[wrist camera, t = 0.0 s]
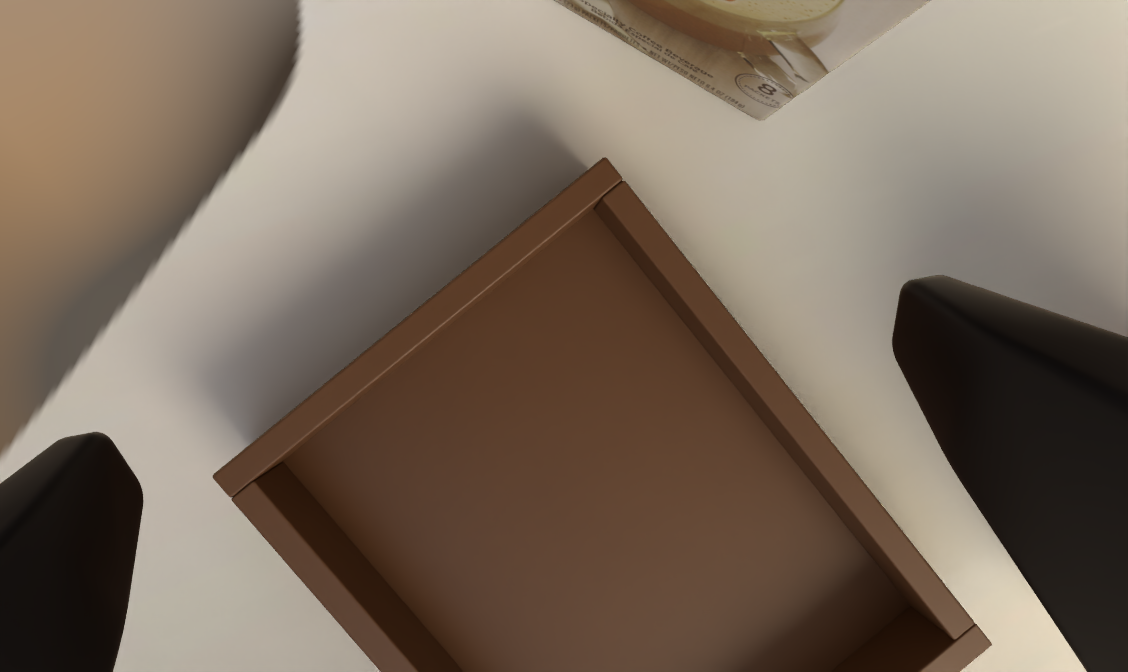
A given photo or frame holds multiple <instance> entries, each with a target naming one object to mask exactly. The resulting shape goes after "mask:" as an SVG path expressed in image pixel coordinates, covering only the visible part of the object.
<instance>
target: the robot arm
mask: <svg viewBox="0 0 1128 672" xmlns="http://www.w3.org/2000/svg"><path fill="white" fill-rule="evenodd" d="M892 346H893V352H894V355H895V358H896V361H897V363H898V365H899V367H900V369H901V371H902V373H903V375H904V377H905V378H906V380H907V382H908V384H909V386H910V388H911V390H912V392H913V394H914V396H915V398H916V400H917V402H918V404H919V406H920V408H921V410H922V412H923V414H924V416H925V418H926V420H927V422H928V424H929V425H930V427H931V429H932V431H933V433H934V435H935V437H936V439H937V441H938V443H939V445H940V447H941V449H942V451H943V453H944V454H945V456H946V458H947V460H948V462H949V463H950V465H951V467H952V468H953V470H954V472H955V473H956V475H957V476H958V478H959V480H960V481H961V483H962V484H963V486H964V487H965V489H966V490H967V492H968V493H969V495H970V496H971V498H972V499H973V501H974V502H975V504H976V505H977V507H978V508H979V510H980V511H981V513H982V514H983V516H984V517H985V519H986V520H987V522H988V523H989V525H990V526H991V528H992V529H993V531H994V532H995V534H996V535H997V537H998V538H999V540H1000V541H1001V543H1002V544H1003V546H1004V547H1005V549H1006V550H1007V552H1008V554H1009V555H1010V557H1011V558H1012V560H1013V561H1014V563H1015V564H1016V566H1017V567H1018V569H1019V570H1020V572H1021V573H1022V575H1023V576H1024V578H1025V579H1026V581H1027V582H1028V584H1029V585H1030V587H1031V588H1032V590H1033V591H1034V593H1035V594H1036V596H1037V597H1038V599H1039V600H1040V602H1041V603H1042V605H1043V606H1044V608H1045V609H1046V611H1047V612H1048V614H1049V615H1050V617H1051V618H1052V620H1053V621H1054V623H1055V624H1056V626H1057V627H1058V629H1059V630H1060V632H1061V633H1062V635H1063V636H1064V638H1065V639H1066V641H1067V642H1068V644H1069V645H1070V647H1071V648H1072V650H1073V651H1074V653H1075V654H1076V656H1077V657H1078V659H1079V660H1080V662H1081V663H1082V665H1083V666H1084V668H1085V669H1086V671H1087V672H1128V337H1125V336H1122V335H1119V334H1116V333H1113V332H1110V331H1107V330H1104V329H1101V328H1098V327H1095V326H1092V325H1089V324H1086V323H1083V322H1080V321H1077V320H1074V319H1072V318H1069V317H1066V316H1063V315H1060V314H1057V313H1054V312H1051V311H1048V310H1045V309H1042V308H1039V307H1036V306H1033V305H1030V304H1027V303H1024V302H1021V301H1018V300H1015V299H1013V298H1010V297H1007V296H1004V295H1001V294H998V293H995V292H992V291H989V290H986V289H983V288H980V287H977V286H974V285H971V284H968V283H965V282H962V281H959V280H956V279H954V278H951V277H948V276H944V275H935V276H930V277H925V278H919V279H914V280H910V281H908V282H906V283H905V284H904V285H903V287H902V289H901V291H900V295H899V301H898V307H897V313H896V319H895V325H894V331H893V338H892ZM142 509H143V492H142V488H141V485H140V483H139V481H138V479H137V478H136V476H135V474H134V473H133V471H132V470H131V468H130V467H129V465H128V464H127V462H126V461H125V459H124V458H123V456H122V455H121V453H120V452H119V450H118V449H117V447H116V446H115V444H114V443H113V441H112V440H111V439H110V438H109V437H108V436H107V435H105V434H103V433H100V432H92V433H87V434H81V435H76V436H70V437H66V438H62V439H60V440H58V441H57V442H55V443H54V444H52V445H51V446H50V447H48V448H47V449H46V450H44V451H43V452H42V453H40V454H39V455H38V456H36V457H35V458H34V459H33V460H31V461H30V462H29V463H27V464H26V465H25V466H23V467H22V468H21V469H19V470H18V471H17V472H15V473H14V474H13V475H11V476H10V477H9V478H7V479H6V480H5V481H3V482H2V483H1V484H0V672H113V669H114V666H115V662H116V658H117V654H118V650H119V646H120V642H121V638H122V634H123V630H124V625H125V619H126V614H127V609H128V602H129V595H130V589H131V582H132V575H133V569H134V562H135V556H136V549H137V542H138V536H139V529H140V522H141V516H142Z"/></svg>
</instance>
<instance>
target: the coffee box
mask: <svg viewBox="0 0 1128 672" xmlns="http://www.w3.org/2000/svg"><path fill="white" fill-rule="evenodd" d="M555 1H556V2H558V3H560V4H561V5H563V6H565V7H566V8H568V9H570V10H571V11H573V12H575V13H577V14H578V15H580V16H582V17H584V18H585V19H587V20H589V21H590V22H592V23H594V24H596V25H597V26H599V27H601V28H602V29H604V30H606V31H608V32H609V33H611V34H613V35H614V36H616V37H618V38H620V39H621V40H623V41H625V42H626V43H628V44H630V45H631V46H633V47H635V48H636V49H638V50H640V51H641V52H643V53H645V54H646V55H648V56H650V57H652V58H653V59H655V60H657V61H659V62H660V63H662V64H664V65H665V66H667V67H669V68H670V69H672V70H674V71H675V72H677V73H679V74H680V75H682V76H684V77H685V78H687V79H689V80H690V81H692V82H694V83H695V84H697V85H699V86H701V87H702V88H704V89H706V90H707V91H709V92H711V93H712V94H714V95H716V96H718V97H719V98H721V99H723V100H724V101H726V102H728V103H730V104H731V105H733V106H734V107H736V108H738V109H739V110H741V111H743V112H745V113H746V114H748V115H750V116H752V117H754V118H756V119H758V120H765V119H766V118H768V117H769V116H770V115H772V114H773V113H775V112H776V111H778V110H779V109H780V108H781V107H783V106H784V105H785V104H786V103H788V102H790V101H791V100H792V99H793V98H794V97H796V96H797V95H799V94H800V93H802V92H804V91H805V90H807V89H808V88H810V87H811V86H812V85H814V84H815V83H816V82H817V81H819V80H820V79H821V78H823V77H824V76H825V75H826V74H828V73H829V72H831V71H833V70H834V69H836V68H837V67H839V66H840V65H841V64H843V63H844V62H845V61H847V60H848V59H850V58H851V57H853V56H854V55H856V54H857V53H858V52H860V51H861V50H862V49H864V48H865V47H866V46H868V45H869V44H871V43H872V42H873V41H875V40H876V39H878V38H879V37H880V36H882V35H883V34H885V33H886V32H887V31H889V30H890V29H892V28H893V27H894V26H896V25H897V24H899V23H900V22H901V21H903V20H904V19H905V18H907V17H908V16H910V15H911V14H912V13H914V12H915V11H917V10H918V9H919V8H921V7H922V6H924V5H925V4H926V3H928V2H929V1H931V0H555Z"/></svg>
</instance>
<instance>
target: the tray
mask: <svg viewBox="0 0 1128 672" xmlns="http://www.w3.org/2000/svg"><path fill="white" fill-rule="evenodd" d="M213 479H214V480H215V481H216V482H217V483H218V484H219V485H220V487H221V488H222V489H223V490H224V491H225V492H226V494H227V495H228V496H229V497H233V498H232V501H233V502H234V503H235V505H236V506H237V507H238V508H239V509H240V510H241V511H242V513H243V514H244V515H245V516H246V517H247V518H248V519H249V521H250V522H251V523H252V524H253V525H254V526H255V528H256V529H257V530H258V531H259V532H260V533H261V534H262V536H263V537H264V538H265V539H266V540H267V541H268V542H269V544H270V545H271V546H272V547H273V548H274V549H275V551H276V552H277V553H278V554H279V555H280V556H281V557H282V559H283V560H284V561H285V562H286V563H287V564H288V565H289V567H290V568H291V569H292V570H293V571H294V572H295V574H296V575H297V576H298V577H299V578H300V579H301V580H302V582H303V583H304V584H305V585H306V586H307V587H308V588H309V590H310V591H311V592H312V593H313V594H314V595H315V597H316V598H317V599H318V600H319V601H320V602H321V603H322V605H323V606H324V607H325V608H326V609H327V610H328V611H329V613H330V614H331V615H332V616H333V617H334V618H335V620H336V621H337V622H338V623H339V624H340V625H341V626H342V628H343V629H344V630H345V631H346V632H347V633H348V634H349V636H350V637H351V638H352V639H353V640H354V641H355V643H356V644H357V645H358V646H359V647H360V648H361V649H362V651H363V652H364V653H365V654H366V655H367V656H368V657H369V659H370V660H371V661H372V662H373V663H374V664H375V666H376V667H377V668H378V669H379V670H380V671H381V672H960V671H961V670H962V669H963V668H965V667H966V666H967V665H968V664H969V663H971V662H972V661H973V660H974V659H975V658H977V657H978V656H979V655H980V654H982V653H983V652H984V651H985V650H986V649H988V648H989V647H990V646H991V645H992V644H991V642H990V641H989V639H988V638H987V637H986V636H985V634H984V633H983V632H982V631H981V629H980V628H979V627H978V626H977V624H975V623H974V621H973V620H972V618H971V617H970V616H969V614H968V613H967V612H966V611H965V609H964V608H963V607H962V606H961V604H960V603H959V602H958V601H957V599H956V598H955V597H954V596H953V594H952V593H951V592H950V591H949V589H948V588H947V587H946V585H945V584H944V583H943V582H942V580H941V579H940V578H939V577H938V575H937V574H936V573H935V572H934V570H933V569H932V568H931V567H930V565H929V564H928V563H927V561H926V560H925V559H924V558H923V556H922V555H921V554H920V553H919V551H918V550H917V549H916V548H915V546H914V545H913V544H912V543H911V541H910V540H909V539H908V537H907V536H906V535H905V534H904V532H903V531H902V530H901V529H900V527H899V526H898V525H897V524H896V522H895V521H894V520H893V519H892V517H891V516H890V515H889V514H888V512H887V511H886V510H885V508H884V507H883V506H882V505H881V503H880V502H879V501H878V500H877V498H876V497H875V496H874V495H873V493H872V492H871V491H870V490H869V488H868V487H867V486H866V484H865V483H864V482H863V481H862V479H861V478H860V477H859V476H858V474H857V473H856V472H855V471H854V469H853V468H852V467H851V466H850V464H849V463H848V462H847V461H846V459H845V458H844V457H843V455H842V454H841V453H840V452H839V450H838V449H837V448H836V447H835V445H834V444H833V443H832V442H831V440H830V439H829V438H828V437H827V435H826V434H825V433H824V431H823V430H822V429H821V428H820V426H819V425H818V424H817V423H816V421H815V420H814V419H813V418H812V416H811V415H810V414H809V413H808V411H807V410H806V409H805V407H804V406H803V405H802V404H801V402H800V401H799V400H798V399H797V397H796V396H795V395H794V394H793V392H792V391H791V390H790V389H789V387H788V386H787V385H786V384H785V382H784V381H783V380H782V378H781V377H780V376H779V375H778V373H777V372H776V371H775V370H774V368H773V367H772V366H771V365H770V363H769V362H768V361H767V360H766V358H765V357H764V356H763V354H762V353H761V352H760V351H759V349H758V348H757V347H756V346H755V344H754V343H753V342H752V341H751V339H750V338H749V337H748V336H747V334H746V333H745V332H744V331H743V329H742V328H741V327H740V325H739V324H738V323H737V322H736V320H735V319H734V318H733V317H732V315H731V314H730V313H729V312H728V310H727V309H726V308H725V307H724V305H723V304H722V303H721V301H720V300H719V299H718V298H717V296H716V295H715V294H714V293H713V291H712V290H711V289H710V288H709V286H708V285H707V284H706V283H705V281H704V280H703V279H702V278H701V276H700V275H699V274H698V272H697V271H696V270H695V269H694V267H693V266H692V265H691V264H690V262H689V261H688V260H687V259H686V257H685V256H684V255H683V254H682V252H681V251H680V250H679V248H678V247H677V246H676V245H675V243H674V242H673V241H672V240H671V238H670V237H669V236H668V235H667V233H666V232H665V231H664V230H663V228H662V227H661V226H660V224H659V223H658V222H657V221H656V219H655V218H654V217H653V216H652V214H651V213H650V212H649V211H648V209H647V208H646V207H645V206H644V204H643V203H642V202H641V201H640V199H639V198H638V197H637V195H636V194H635V193H634V192H633V190H632V189H631V188H630V187H629V185H628V184H627V183H626V182H625V181H622V177H621V175H620V174H619V173H618V172H617V170H616V169H615V168H614V167H613V165H612V164H611V163H610V162H609V160H608V159H607V158H602V159H601V160H600V161H598V162H597V163H596V164H595V165H594V166H592V167H591V168H590V169H589V170H587V171H586V172H585V173H584V174H582V175H581V176H580V177H579V178H578V179H576V180H575V181H574V182H573V183H571V184H570V185H569V186H568V187H566V188H565V189H564V190H563V191H562V192H560V193H559V194H558V195H557V196H555V197H554V198H553V199H552V200H550V201H549V202H548V203H547V204H546V205H544V206H543V207H542V208H541V209H539V210H538V211H537V212H536V213H534V214H533V215H532V216H531V217H530V218H528V219H527V220H526V221H525V222H523V223H522V224H521V225H520V226H518V227H517V228H516V229H515V230H514V231H512V232H511V233H510V234H509V235H507V236H506V237H505V238H504V239H502V240H501V241H500V242H499V243H498V244H496V245H495V246H494V247H493V248H491V249H490V250H489V251H488V252H486V253H485V254H484V255H483V256H482V257H480V258H479V259H478V260H477V261H475V262H474V263H473V264H472V265H470V266H469V267H468V268H467V269H466V270H464V271H463V272H462V273H461V274H459V275H458V276H457V277H456V278H454V279H453V280H452V281H451V282H450V283H448V284H447V285H446V286H445V287H443V288H442V289H441V290H440V291H438V292H437V293H436V294H435V295H434V296H432V297H431V298H430V299H429V300H427V301H426V302H425V303H424V304H422V305H421V306H420V307H419V308H418V309H416V310H415V311H414V312H413V313H411V314H410V315H409V316H408V317H406V318H405V319H404V320H403V321H402V322H400V323H399V324H398V325H397V326H395V327H394V328H393V329H392V330H390V331H389V332H388V333H387V334H386V335H384V336H383V337H382V338H381V339H379V340H378V341H377V342H376V343H374V344H373V345H372V346H371V347H370V348H368V349H367V350H366V351H365V352H363V353H362V354H361V355H360V356H358V357H357V358H356V359H355V360H354V361H352V362H351V363H350V364H349V365H347V366H346V367H345V368H344V369H342V370H341V371H340V372H339V373H338V374H336V375H335V376H334V377H333V378H331V379H330V380H329V381H328V382H326V383H325V384H324V385H323V386H322V387H320V388H319V389H318V390H317V391H315V392H314V393H313V394H312V395H310V396H309V397H308V398H307V399H306V400H304V401H303V402H302V403H301V404H299V405H298V406H297V407H296V408H294V409H293V410H292V411H291V412H290V413H288V414H287V415H286V416H285V417H283V418H282V419H281V420H280V421H278V422H277V423H276V424H275V425H274V426H272V427H271V428H270V429H269V430H267V431H266V432H265V433H264V434H262V435H261V436H260V437H259V438H258V439H256V440H255V441H254V442H253V443H251V444H250V445H249V446H248V447H246V448H245V449H244V450H243V451H242V452H240V453H239V454H238V455H237V456H235V457H234V458H233V459H232V460H230V461H229V462H228V463H227V464H226V465H224V466H223V467H222V468H221V469H219V470H218V471H217V472H216V473H214V475H213Z"/></svg>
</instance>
